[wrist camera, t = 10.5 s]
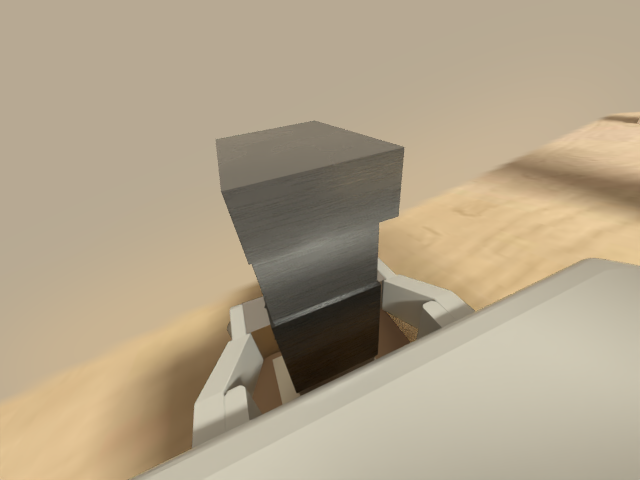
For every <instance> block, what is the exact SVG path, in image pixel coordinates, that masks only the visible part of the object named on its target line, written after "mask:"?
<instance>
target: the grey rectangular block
mask: <svg viewBox="0 0 640 480" xmlns="http://www.w3.org/2000/svg"><path fill="white" fill-rule="evenodd" d="M216 147H217V157H218V166H219V176H220V185H221V192H222V195H223V197H224V200H225V203H226V205H227V208H228V211H229V213H230V216H231V218H232V221H233V224H234V227H235V229H236V232H237V234H238V237H239V239H240V242H241V245H242V248H243V250H244V253H245V256H246V258H247V261H248V264H252V266H253V269H254V272H255V274H256V277H257V280H258V282H259V285H260V288H261V291H262V294H263V297H264V301H265V305H266V309H267V313H268V317H269V321H270V325H271V329H272V331H273V334H274V336H275V339H276V341H277V344H278V347H279V349H280V352H281V354H282V357H283V360H284V362H285V365H286V367H287V370H288V373H289V375H290V378H291V380H292V383H293V386H294V388H295V391H296V393H299V394H300V396H302V395H304V394H306V393H308V392H310V391H312V390H314V389H316V388H318V387H320V386H322V385H324V384H326V383H328V382H331V381H333V380H335V379H337V378H339V377H341V376H343V375H345V374H347V373H349V372H351V371H353V370H355V369H357V368H359V367H362V366H364V365H366V364H368V363H370V362H372V361H374V360H375V356H376V355H378V343H379V322H380V301H381V284H380V282H379V281H378V280H377V269H378V239H379V222H382V221H385V220H388V219H392V218H395V217H398V215H399V204H400V192H401V180H402V168H403V157H404V147H402V146H399V145H396V144H392V143H389V142H385V141H382V140H378V139H375V138H372V137H368V136H365V135H362V134H358V133H355V132H351V131H348V130H345V129H341V128H338V127H334V126H331V125H328V124H324V123H320V122H317V121H310V122H305V123H300V124H295V125H289V126H285V127H279V128H274V129H269V130H264V131H258V132H253V133H248V134H242V135H237V136H232V137H226V138H221V139H216Z"/></svg>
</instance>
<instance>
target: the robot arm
mask: <svg viewBox="0 0 640 480" xmlns="http://www.w3.org/2000/svg"><path fill="white" fill-rule="evenodd" d="M377 280H378V281H379V282H380V284H381V301H380V309H382V310H384V311H386V312H388V313H390V314H391V315H393V316H395V317H397V318H399V319H401V320H403V321H405V322H406V323H408V324H410V325H412V326H414V327H416V328H418V333H417V338H416V340H415V341H413V342H411V343H409V344H407V345H405V346H403V347H401V348H399V349H397V350H395V351H393V352H390V353H388V354H386V355H384V356H382V357H380V358H378V359H376V360H374V361H372V362H370V363H368V364H366V365H364V366H362V367H359V368H357V369H355V370H353V371H351V372H349V373H347V374H345V375H343V376H341V377H339V378H337V379H335V380H333V381H331V382H328V383H326V384H324V385H322V386H320V387H318V388H316V389H314V390H312V391H310V392H308V393H306V394H304V395H302V396H300V397H297V398H295V399H293V400H291V401H289V402H287V403H285V404H283V405H281V406H279V407H277V408H275V409H273V410H271V411H269V412H266V413H264V414H262V413H261V411H260V410H259V408H258V406H257V405H256V403H255V402H254V400H253V399H252V396H253V393H254V390H255V387H256V383H257V380H258V377H259V374H260V370H261V367H262V364H263V361H264V360H263V359H265V358H267V357H269V356H271V355H274V354H276V353H278V352H280V349H279V347H278V344H277V341H276V339H275V336H274V334H273V331H272V329H271V325H270V321H269V317H268V313H267V309H266V305H265V301H264V297H260V298H257V299H254V300H251V301H248V302H245V303H243V304H240V305H237V306H234V307H231V308H230V321H231V333H232V341H229V342H228V344H227V345H226V347H225V349H224V351H223V353H222V355H221V356H220V358H219V360H218V362H217V364H216V366H215V367H214V369H213V371H212V373H211V375H210V377H209V378H208V380H207V382H206V384H205V386H204V388H203V389H202V391H201V393H200V395H199V397H198V399H197V400H196V402H195V404H194V421H193V439H192V449H190V450H188V451H186V452H184V453H182V454H180V455H178V456H175V457H173V458H171V459H169V460H167V461H165V462H163V463H161V464H159V465H157V466H155V467H153V468H151V469H149V470H146V471H144V472H142V473H140V474H138V475H136V476H134V477H132V478H130V479H128V480H640V266H638V265H634V264H629V263H623V262H618V261H612V260H606V259H599V258H587V259H584V260H581V261H579V262H577V263H575V264H572V265H570V266H568V267H566V268H564V269H562V270H560V271H558V272H556V273H554V274H552V275H550V276H548V277H546V278H544V279H541V280H539V281H537V282H535V283H533V284H531V285H529V286H527V287H525V288H523V289H521V290H519V291H517V292H515V293H513V294H510V295H508V296H506V297H504V298H502V299H500V300H498V301H496V302H494V303H492V304H490V305H488V306H486V307H484V308H482V309H479V310H477V311H475V310H473V309H472V308H471V307H470V306H469V305H468V304H466V303H465V302H464V301H463V300H462V299H460V298H459V297H458V296H457V295H456V294H454V293H453V292H452V291H450V290H447V289H444V288H440V287H437V286H434V285H431V284H428V283H425V282H422V281H418V280H415V279H412V278H409V277H406V276H403V275H400V274H399V275H396V274H395V273H394V272H393V271H392V270H391V269H390V268H389V267H388V266H387V265H386V264H384V263H383V262H382V261H381V260H380V259H379V258H378V269H377Z"/></svg>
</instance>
